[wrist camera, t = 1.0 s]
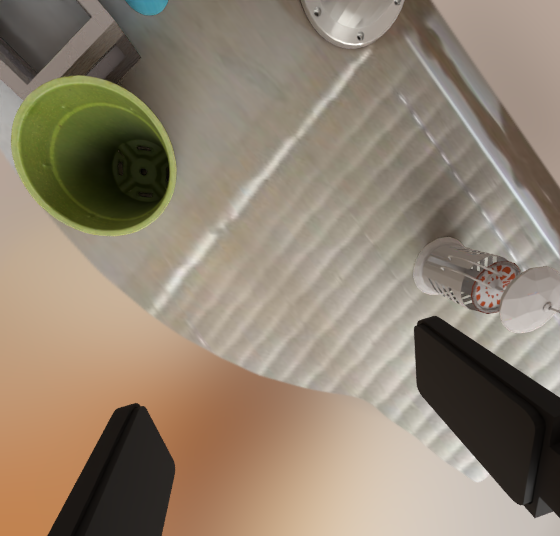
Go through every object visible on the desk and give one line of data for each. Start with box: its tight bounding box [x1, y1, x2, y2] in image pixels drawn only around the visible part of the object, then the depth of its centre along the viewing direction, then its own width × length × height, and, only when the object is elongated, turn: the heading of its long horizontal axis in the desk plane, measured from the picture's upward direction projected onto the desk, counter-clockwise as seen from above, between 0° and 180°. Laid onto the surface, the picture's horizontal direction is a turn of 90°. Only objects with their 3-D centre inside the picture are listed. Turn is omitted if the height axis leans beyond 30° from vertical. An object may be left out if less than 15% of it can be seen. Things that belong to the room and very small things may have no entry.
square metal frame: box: [0, 0, 141, 100], centre depth 23 cm, size 10×12×6 cm
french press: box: [413, 237, 560, 333], centre depth 30 cm, size 10×12×25 cm
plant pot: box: [11, 75, 176, 236], centre depth 26 cm, size 12×12×11 cm
